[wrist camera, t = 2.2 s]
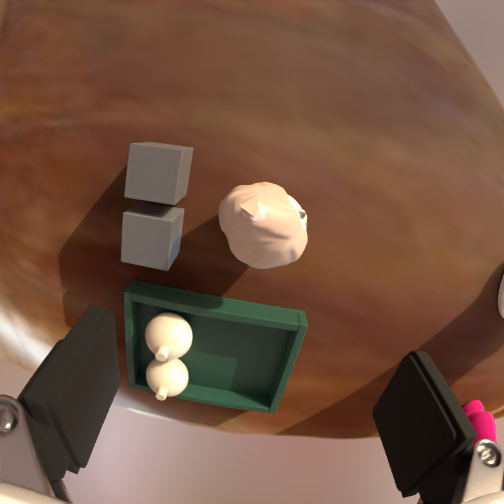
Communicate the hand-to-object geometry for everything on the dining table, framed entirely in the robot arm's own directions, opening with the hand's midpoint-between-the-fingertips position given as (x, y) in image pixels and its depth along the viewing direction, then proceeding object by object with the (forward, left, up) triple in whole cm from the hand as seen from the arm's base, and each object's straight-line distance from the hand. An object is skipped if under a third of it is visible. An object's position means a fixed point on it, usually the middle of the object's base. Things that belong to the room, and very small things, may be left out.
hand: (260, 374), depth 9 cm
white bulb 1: (+6, +12, -17) cm, 22 cm away
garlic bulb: (0, 0, -18) cm, 18 cm away
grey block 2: (+8, +2, -18) cm, 20 cm away
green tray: (+2, +14, -18) cm, 23 cm away
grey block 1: (+8, -3, -18) cm, 20 cm away
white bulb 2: (+6, +17, -17) cm, 25 cm away
